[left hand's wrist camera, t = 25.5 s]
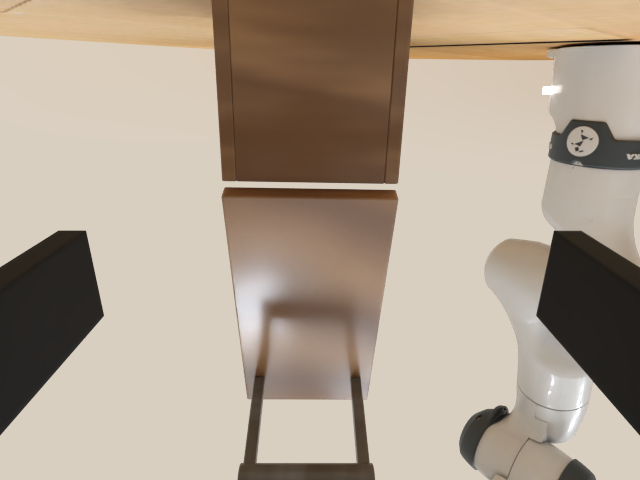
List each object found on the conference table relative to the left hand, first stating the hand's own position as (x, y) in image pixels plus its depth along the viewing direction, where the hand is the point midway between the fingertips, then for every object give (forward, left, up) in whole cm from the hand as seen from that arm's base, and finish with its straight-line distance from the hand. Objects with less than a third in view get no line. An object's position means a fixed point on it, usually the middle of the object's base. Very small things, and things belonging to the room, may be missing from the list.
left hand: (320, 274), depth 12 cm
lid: (+13, -3, +9) cm, 16 cm away
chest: (+18, -5, -10) cm, 21 cm away
